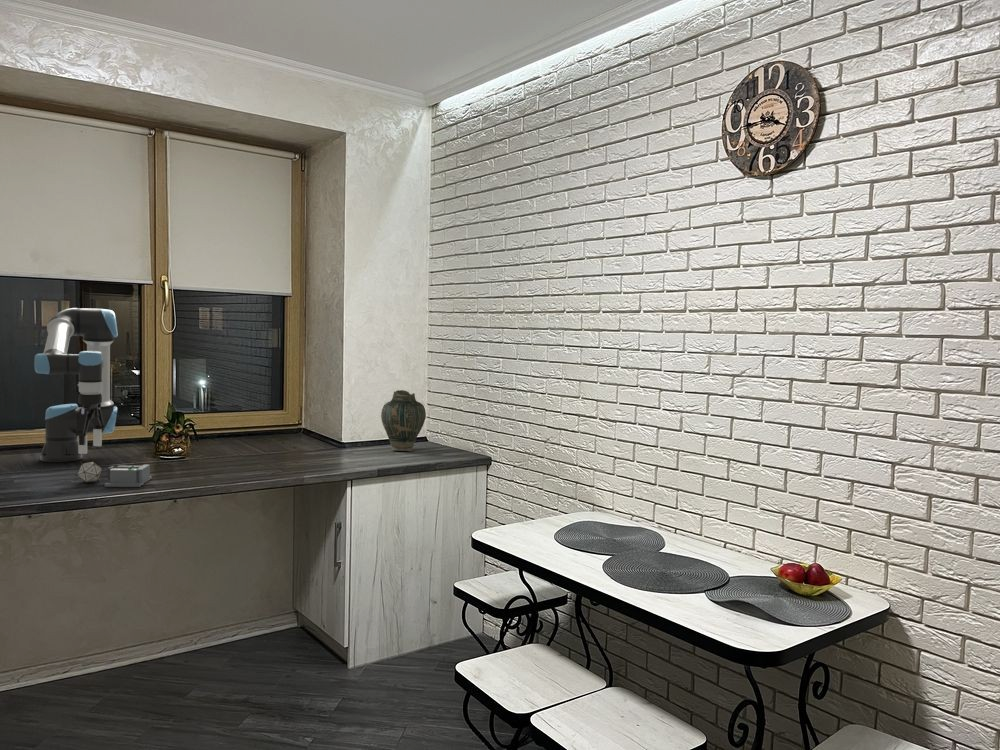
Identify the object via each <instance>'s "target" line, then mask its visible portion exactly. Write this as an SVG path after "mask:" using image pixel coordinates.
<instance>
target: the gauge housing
mask: <svg viewBox="0 0 1000 750" xmlns="http://www.w3.org/2000/svg"><path fill="white" fill-rule="evenodd" d="M130 466H131V465H117V466H116V469H110V480H108V481H107V482H105V483H104V487H105V488H107V487H108V488H109V487H113V488H116V487H117V488H119V487H120V488H121V487H122V488H133V487H134V488H138V487H139V488H140V487H141V485H142V486H143V485H145V484H146V483H148V482H149V481H150V479H151V480H152V478H153V477H152V475H150V474H151V464H143V465H133V466H134V469H128V468H129V467H130ZM147 481H148V482H147ZM145 482H146V483H145ZM144 483H145V484H144Z"/></svg>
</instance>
